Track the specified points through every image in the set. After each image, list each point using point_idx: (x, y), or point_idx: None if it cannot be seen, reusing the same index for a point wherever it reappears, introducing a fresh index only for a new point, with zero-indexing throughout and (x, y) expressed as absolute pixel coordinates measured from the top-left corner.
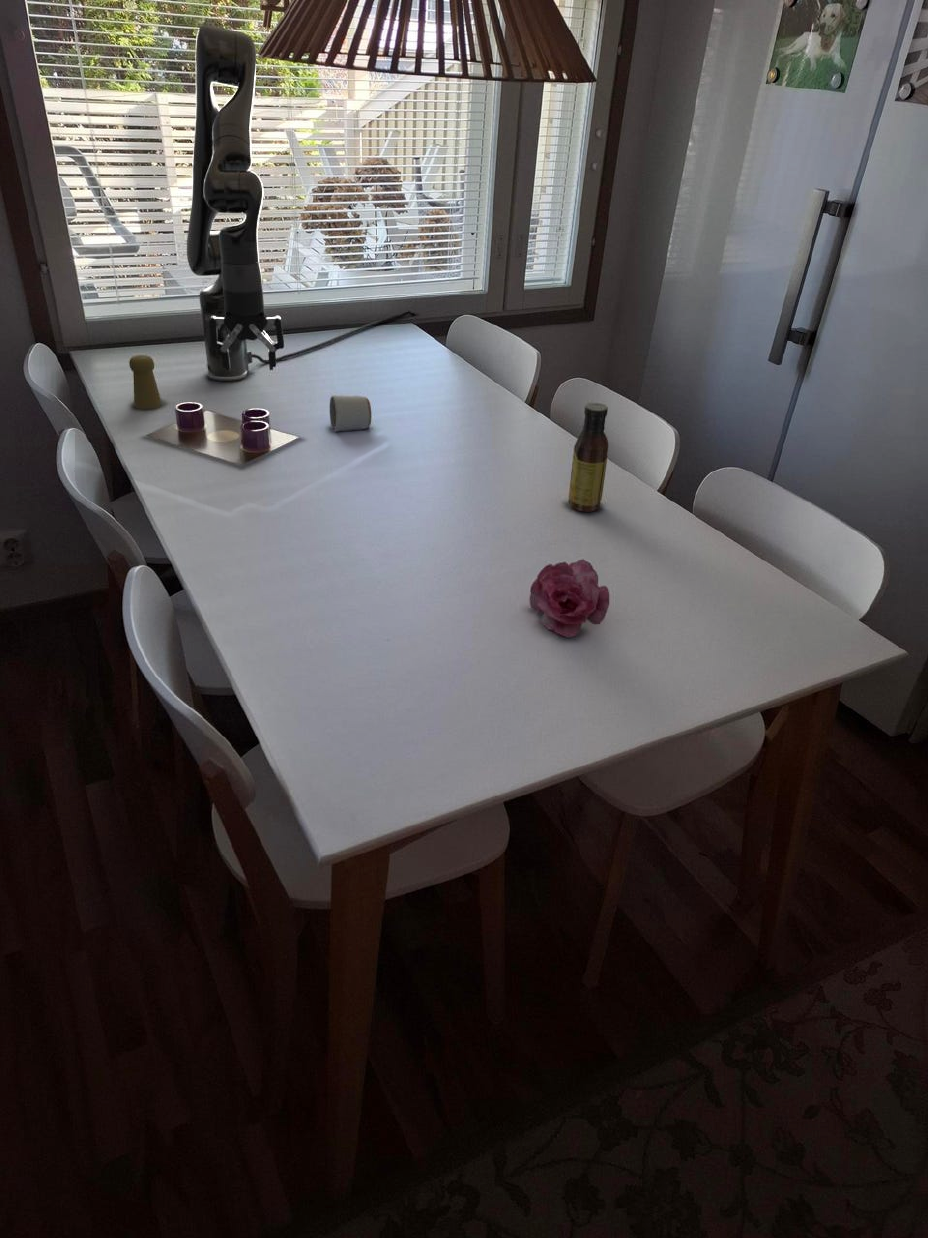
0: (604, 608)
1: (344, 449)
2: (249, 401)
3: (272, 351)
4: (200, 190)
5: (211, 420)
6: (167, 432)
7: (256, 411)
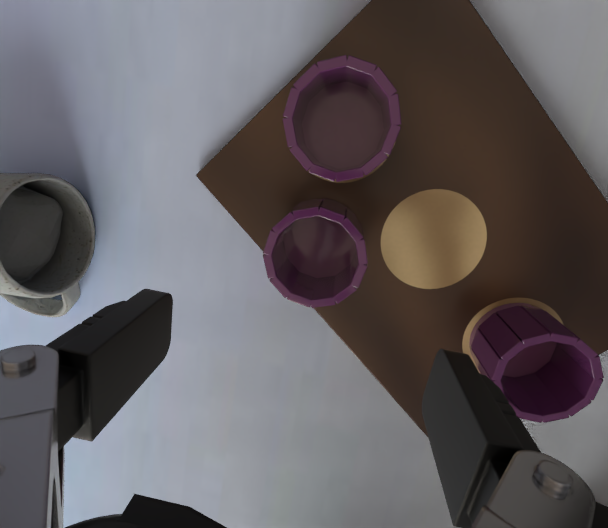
0: None
1: (67, 59)
2: (302, 483)
3: (40, 345)
4: None
5: None
6: (602, 313)
7: (306, 294)
